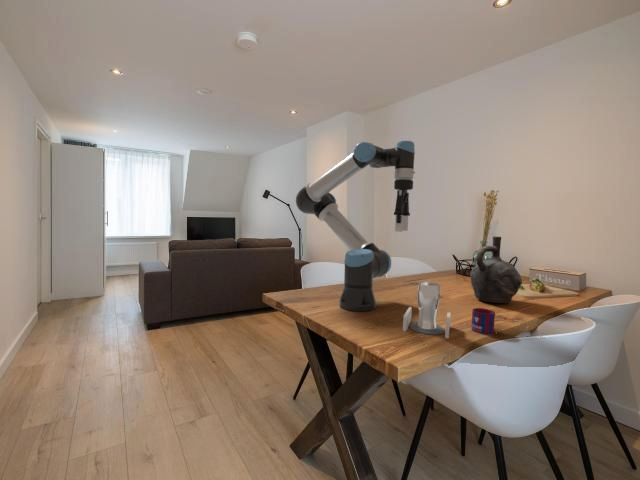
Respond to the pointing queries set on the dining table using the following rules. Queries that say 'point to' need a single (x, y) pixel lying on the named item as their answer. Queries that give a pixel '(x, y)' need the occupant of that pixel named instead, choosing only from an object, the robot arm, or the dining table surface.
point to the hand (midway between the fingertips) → (401, 231)
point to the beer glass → (428, 305)
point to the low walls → (408, 319)
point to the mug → (483, 320)
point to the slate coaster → (434, 332)
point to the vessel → (494, 276)
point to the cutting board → (541, 290)
